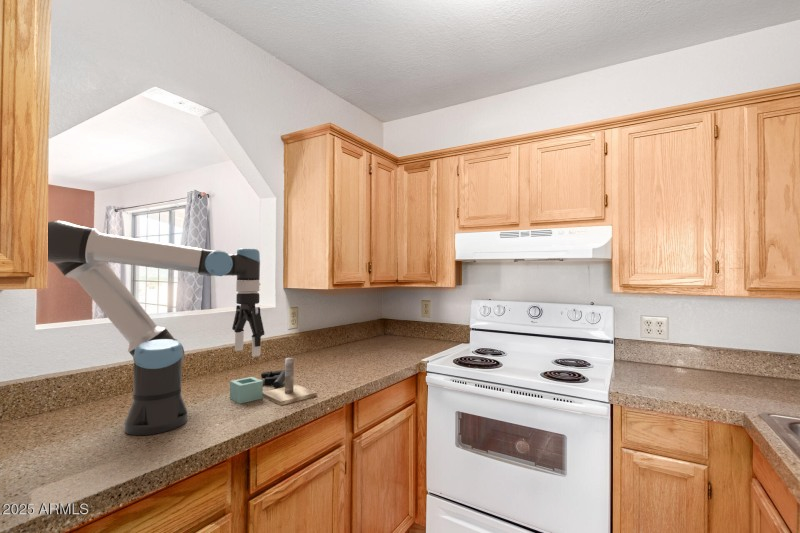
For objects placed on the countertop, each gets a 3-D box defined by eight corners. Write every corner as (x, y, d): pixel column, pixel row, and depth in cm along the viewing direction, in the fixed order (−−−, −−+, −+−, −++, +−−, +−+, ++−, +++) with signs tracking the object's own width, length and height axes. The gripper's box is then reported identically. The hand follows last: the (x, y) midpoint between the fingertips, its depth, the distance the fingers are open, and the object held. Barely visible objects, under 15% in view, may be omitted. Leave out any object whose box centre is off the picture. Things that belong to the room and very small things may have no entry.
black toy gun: (239, 384, 140) (283, 380, 142) (253, 371, 160) (292, 367, 162) (239, 393, 140) (284, 389, 142) (253, 378, 160) (292, 375, 162)
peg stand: (280, 405, 124) (281, 365, 125) (261, 395, 134) (261, 358, 134) (316, 395, 134) (317, 358, 135) (296, 387, 144) (296, 353, 144)
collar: (239, 403, 125) (239, 385, 126) (229, 398, 131) (230, 381, 131) (262, 398, 131) (262, 381, 131) (252, 393, 137) (252, 376, 137)
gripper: (275, 293, 126) (274, 356, 126) (243, 291, 143) (242, 346, 143) (253, 294, 121) (252, 360, 120) (223, 291, 138) (222, 349, 137)
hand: (247, 353), depth 132 cm, fingers open, 13 cm apart
